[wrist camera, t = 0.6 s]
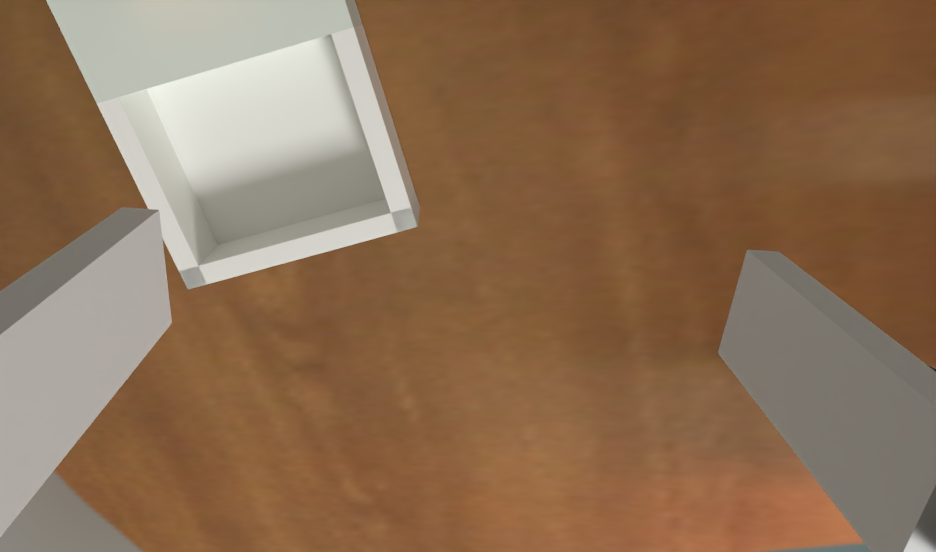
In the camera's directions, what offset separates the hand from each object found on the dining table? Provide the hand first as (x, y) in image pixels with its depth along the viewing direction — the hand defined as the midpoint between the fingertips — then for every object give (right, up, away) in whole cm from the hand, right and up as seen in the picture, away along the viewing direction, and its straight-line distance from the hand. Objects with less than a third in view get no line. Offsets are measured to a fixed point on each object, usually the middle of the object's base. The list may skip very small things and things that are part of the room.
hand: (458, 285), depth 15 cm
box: (-11, +8, +24) cm, 27 cm away
